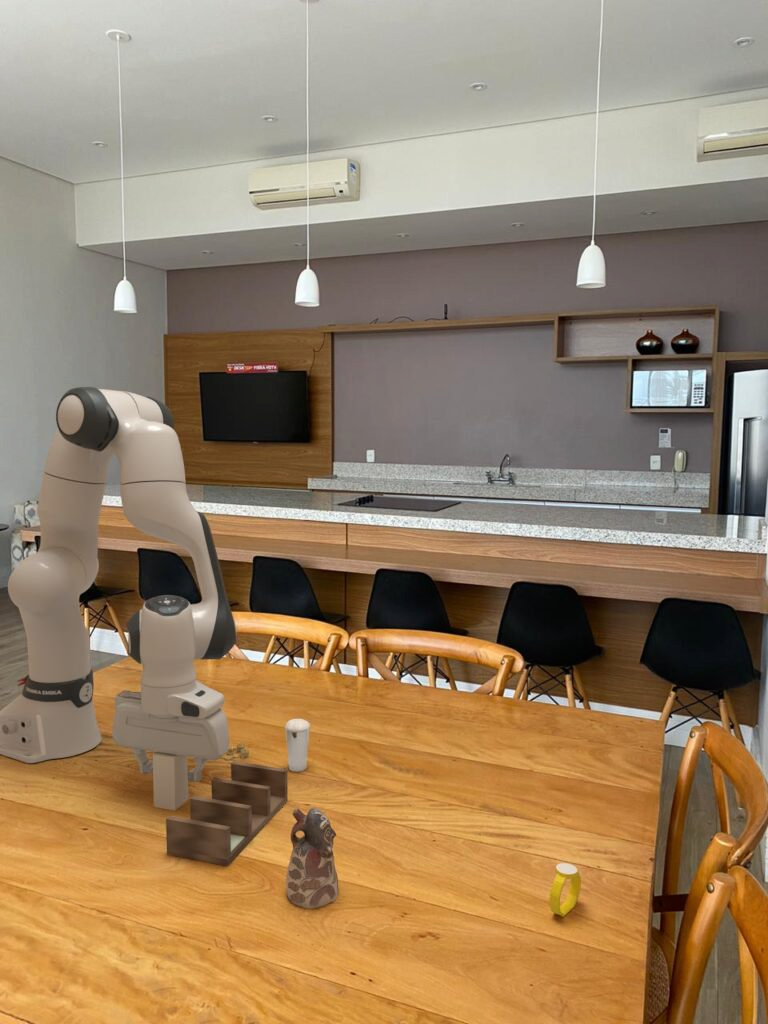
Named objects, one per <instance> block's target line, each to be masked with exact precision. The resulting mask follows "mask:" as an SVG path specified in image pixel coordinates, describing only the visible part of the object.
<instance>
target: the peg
mask: <svg viewBox="0 0 768 1024" xmlns="http://www.w3.org/2000/svg"><path fill="white" fill-rule="evenodd" d="M152 761H153V771H152V775H153V777H152V778H153V779H152V780H153V784H152V785H153V808H157V809H158V808H159V809H166V810H170V811H177V810H178V809H179V808H180V807H182V806H183V805H184V804H185V803H186V802H187V801H188V800H189V771H188V770H189V769H188V767H189V766H188V765H189V764H188V757H187V756H181V755H174V754H168V753H162V752H155V753H154V752H153V754H152Z"/></svg>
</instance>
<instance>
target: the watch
mask: <svg viewBox="0 0 768 1024" xmlns="http://www.w3.org/2000/svg"><path fill="white" fill-rule="evenodd" d="M555 874H556V875H555V877H554V879H553V881H552V885H551V887H550V888H551V889H550V890H549V891H550V892H549V901H548V902H549V907H550V911H551V912H553V913H554V914H556V915H558V916H560V917H562V918H564V917H565V916H566V915H567V914H568V913H569V912H570V911H572V910H573V909H575V907H576V906H577V905H576V904H577V902H578V899H579V897H580V893H581V892H580V891H581V886H582V881H581V878H582V877H581V875H580V872H579V871H578V868H577V867H576V866H575V865H573V864H570V863H567V862H565V863H563V862H561V863H558V864H556V866H555ZM567 880H570V885H569V890H568V893H567V896H566V898H565V900H564V902H563V903H562V904H560V903H561V896H562V892H563V888H564V885H565V884H566V882H567Z"/></svg>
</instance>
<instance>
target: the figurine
mask: <svg viewBox="0 0 768 1024" xmlns="http://www.w3.org/2000/svg"><path fill="white" fill-rule="evenodd" d="M292 816H293V818H294V819H295V821H296V822H295V823H294V825H293V826H292V829H291V833H290V842H291V844H292V851H291V853H290V857H289V858H290V859H289V863H288V866H287V872H286V879H285V883H286V884H285V887H286V889H285V891H286V895H287V897H288V899H289V901H290V902H291V903H292V904H293V905H295V906H297V907H300V908H302V909H308V910H309V909H313V910H314V909H317V908H320V907H324V906H326V905H328V904H331V903H333V902H335V901H336V900H337V899H338V896H339V894H340V889H339V877H338V873H337V870H336V865H335V856H334V852H333V849H334V839H335V837H336V836H337V833H336V831H335V830H334V828H332V826H331V822H330V819H329V818H328V817H327V815H326V814H325V813H324V812H323V811H321V810H320V809H319V808H317V807H312V808H310V809H309V810H308V811H307V813H306V814H305V813H304V812H303V811H302V810H300V809H299V808H298V807H296V808H295V809H293V811H292ZM298 832H303V834H304V835H303V836H301V837H300V836H297V833H298Z"/></svg>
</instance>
